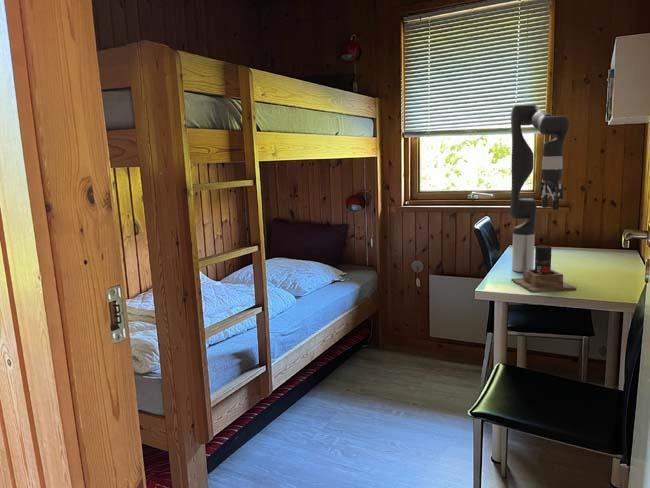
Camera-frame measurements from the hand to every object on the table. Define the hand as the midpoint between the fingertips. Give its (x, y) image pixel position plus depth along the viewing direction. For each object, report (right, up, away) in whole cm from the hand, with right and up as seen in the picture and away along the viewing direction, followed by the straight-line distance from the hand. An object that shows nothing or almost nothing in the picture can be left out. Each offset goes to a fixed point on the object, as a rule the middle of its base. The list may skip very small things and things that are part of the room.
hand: (550, 208), depth 198 cm
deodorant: (-2, -30, +3) cm, 30 cm away
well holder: (-2, -31, +3) cm, 31 cm away
